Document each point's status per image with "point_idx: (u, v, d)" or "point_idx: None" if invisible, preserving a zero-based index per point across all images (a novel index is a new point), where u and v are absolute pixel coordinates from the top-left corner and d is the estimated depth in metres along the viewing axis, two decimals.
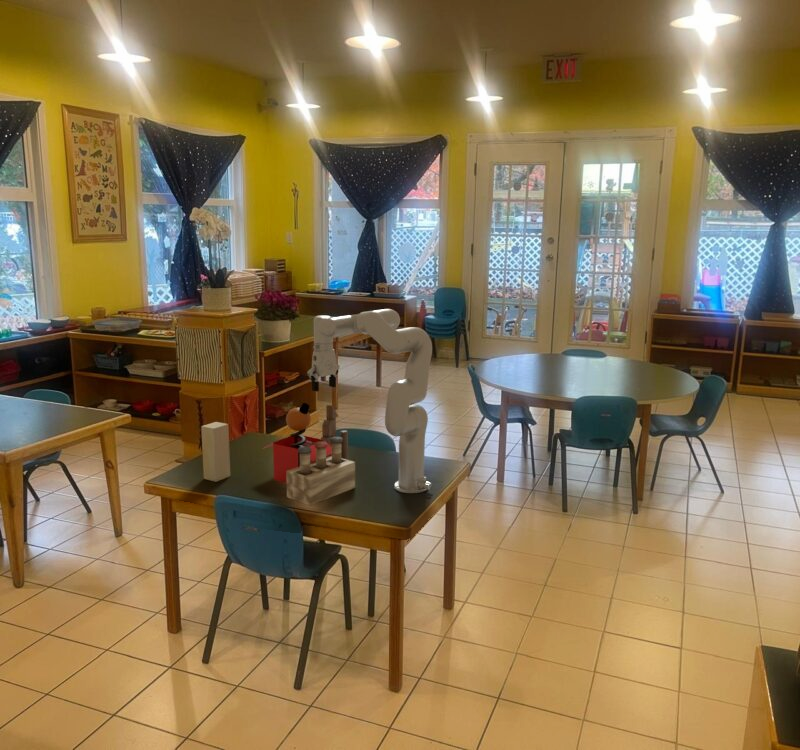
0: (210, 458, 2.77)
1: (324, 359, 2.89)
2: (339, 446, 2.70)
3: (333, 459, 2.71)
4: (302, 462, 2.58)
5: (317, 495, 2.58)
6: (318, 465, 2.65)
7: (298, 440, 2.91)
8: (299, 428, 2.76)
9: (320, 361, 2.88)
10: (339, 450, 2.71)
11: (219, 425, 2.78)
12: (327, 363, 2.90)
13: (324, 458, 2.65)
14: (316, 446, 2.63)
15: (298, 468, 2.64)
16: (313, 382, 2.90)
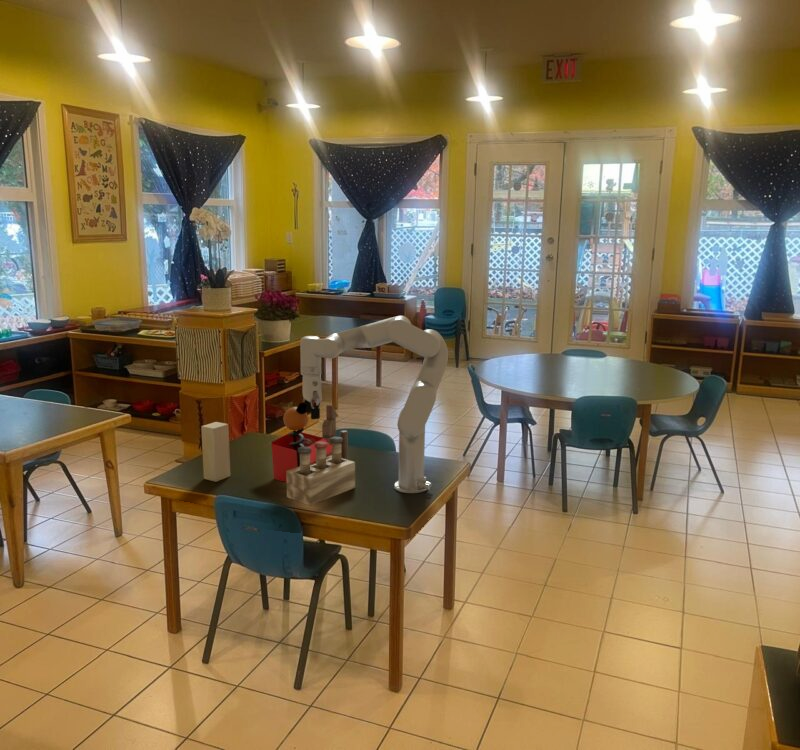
0: (210, 458, 2.77)
1: None
2: (339, 446, 2.70)
3: (333, 459, 2.71)
4: (302, 462, 2.58)
5: (317, 495, 2.58)
6: (318, 465, 2.65)
7: (297, 436, 2.89)
8: (297, 428, 2.74)
9: None
10: (339, 450, 2.71)
11: (219, 425, 2.78)
12: None
13: (324, 458, 2.65)
14: (316, 446, 2.63)
15: (298, 468, 2.64)
16: (315, 409, 2.65)
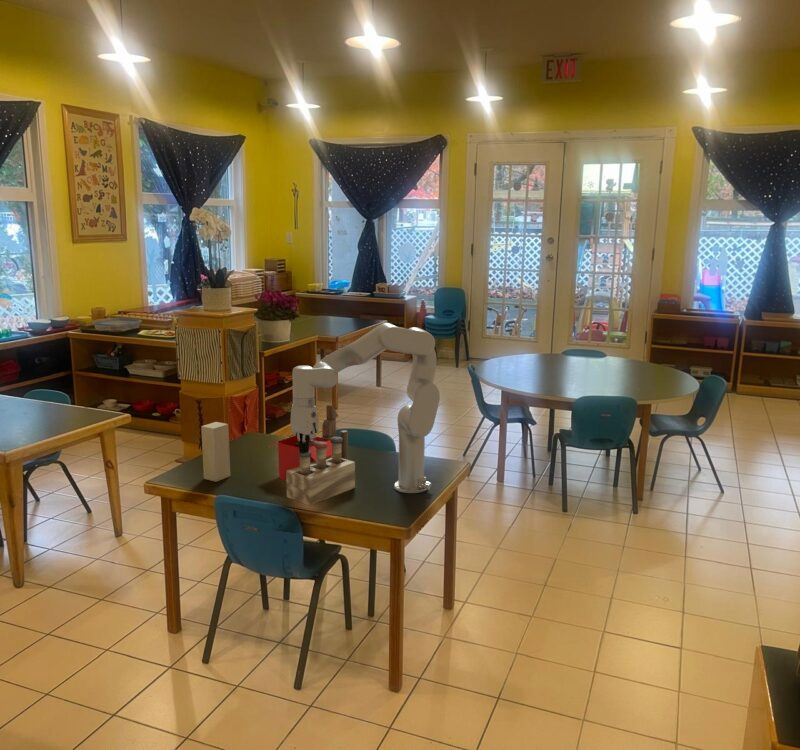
0: (210, 458, 2.77)
1: None
2: (339, 446, 2.70)
3: (333, 459, 2.71)
4: (302, 466, 2.58)
5: (317, 495, 2.58)
6: (318, 465, 2.65)
7: None
8: None
9: None
10: (339, 450, 2.71)
11: (219, 425, 2.78)
12: None
13: (324, 458, 2.65)
14: (316, 446, 2.63)
15: (298, 468, 2.64)
16: (306, 442, 2.57)
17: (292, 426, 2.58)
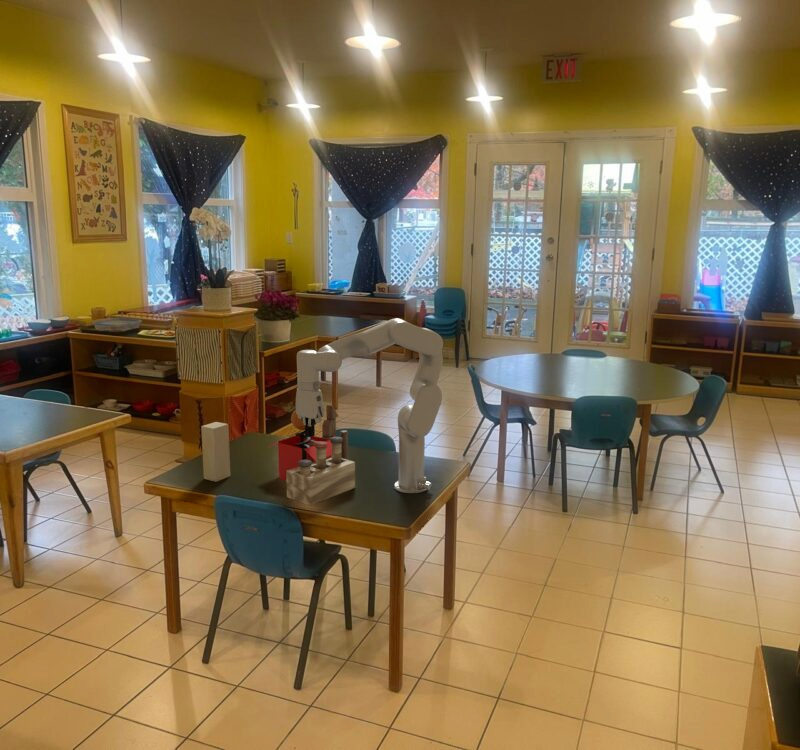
0: (210, 458, 2.77)
1: None
2: (339, 446, 2.70)
3: (333, 459, 2.71)
4: None
5: (317, 495, 2.58)
6: (318, 465, 2.65)
7: (304, 439, 2.92)
8: (304, 427, 2.77)
9: None
10: (339, 450, 2.71)
11: (219, 425, 2.78)
12: None
13: (324, 458, 2.65)
14: (316, 446, 2.63)
15: (298, 468, 2.64)
16: (312, 427, 2.58)
17: (297, 411, 2.58)
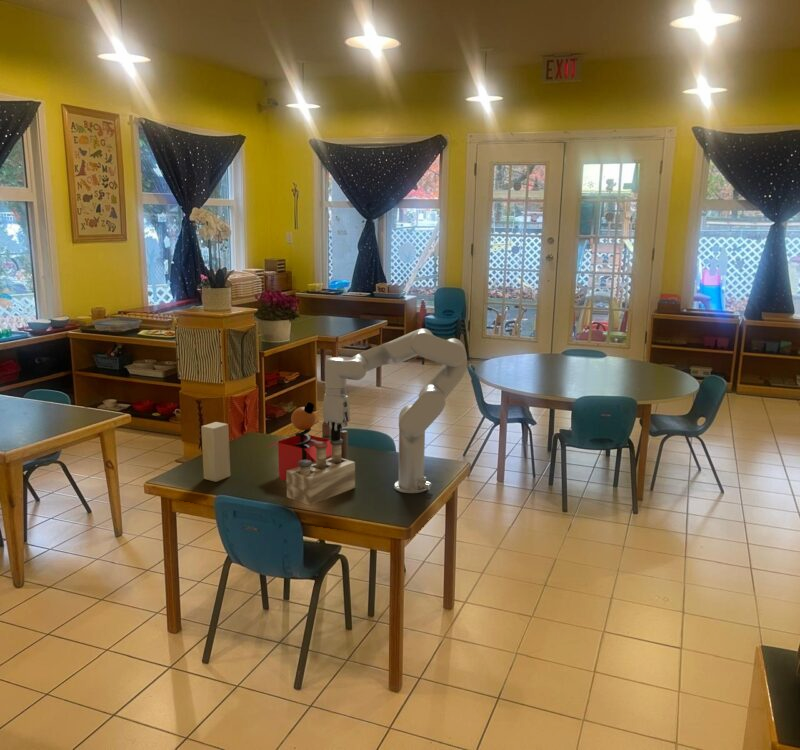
0: (210, 458, 2.77)
1: None
2: (339, 447, 2.70)
3: (333, 460, 2.71)
4: None
5: (317, 495, 2.58)
6: (318, 465, 2.65)
7: (304, 439, 2.92)
8: (304, 427, 2.77)
9: None
10: (339, 451, 2.71)
11: (219, 425, 2.78)
12: None
13: (324, 458, 2.65)
14: (316, 446, 2.63)
15: (298, 468, 2.64)
16: (338, 431, 2.69)
17: (324, 415, 2.70)
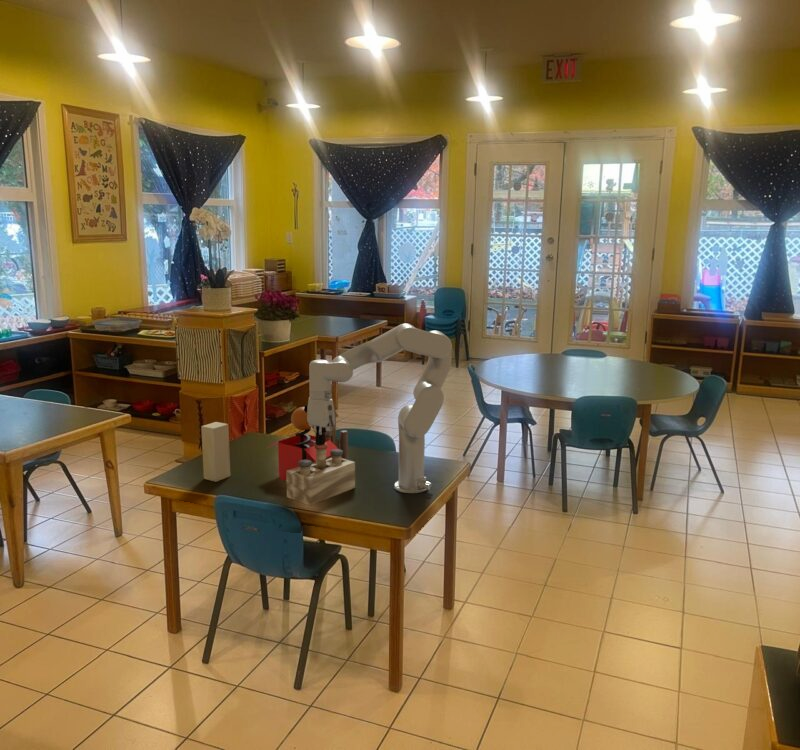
0: (210, 458, 2.77)
1: None
2: (339, 459, 2.71)
3: None
4: None
5: (317, 495, 2.58)
6: (318, 466, 2.65)
7: (304, 439, 2.92)
8: (304, 427, 2.77)
9: None
10: (339, 463, 2.72)
11: (219, 425, 2.78)
12: None
13: (324, 459, 2.65)
14: (316, 447, 2.63)
15: (298, 468, 2.64)
16: (323, 435, 2.63)
17: (309, 419, 2.63)
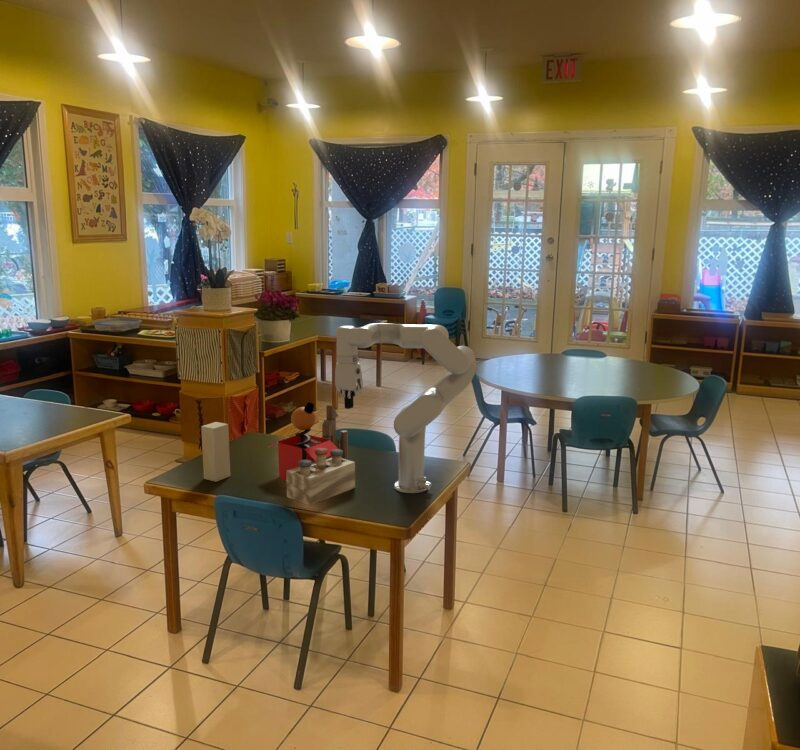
0: (210, 458, 2.77)
1: None
2: (339, 459, 2.71)
3: None
4: None
5: (317, 495, 2.58)
6: None
7: (304, 439, 2.92)
8: (304, 427, 2.77)
9: None
10: (339, 463, 2.72)
11: (219, 425, 2.78)
12: None
13: (324, 464, 2.65)
14: (316, 452, 2.64)
15: (298, 468, 2.64)
16: (351, 399, 2.72)
17: (337, 384, 2.72)
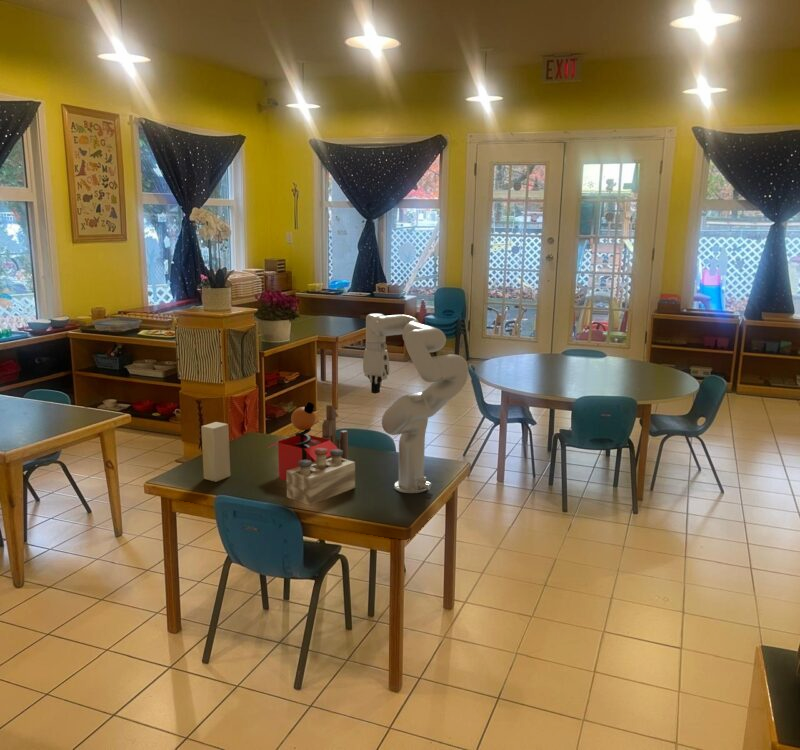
0: (210, 458, 2.77)
1: None
2: (339, 459, 2.71)
3: None
4: None
5: (317, 495, 2.58)
6: None
7: (304, 439, 2.92)
8: (304, 427, 2.77)
9: None
10: (339, 463, 2.72)
11: (219, 425, 2.78)
12: None
13: (324, 464, 2.65)
14: (316, 452, 2.64)
15: (298, 468, 2.64)
16: (378, 384, 2.83)
17: (365, 369, 2.83)
